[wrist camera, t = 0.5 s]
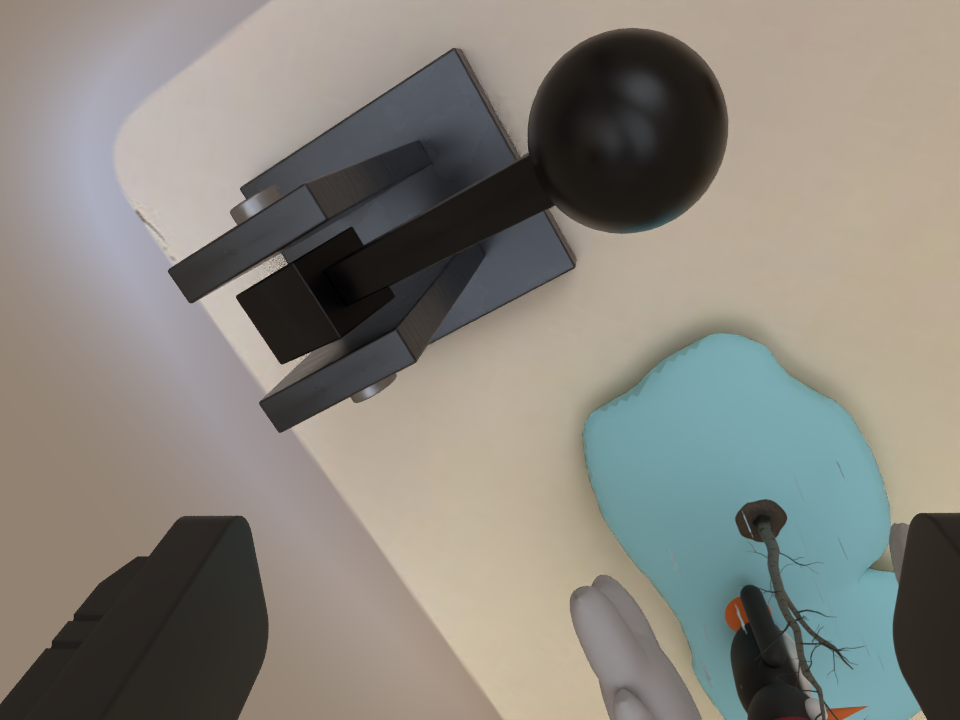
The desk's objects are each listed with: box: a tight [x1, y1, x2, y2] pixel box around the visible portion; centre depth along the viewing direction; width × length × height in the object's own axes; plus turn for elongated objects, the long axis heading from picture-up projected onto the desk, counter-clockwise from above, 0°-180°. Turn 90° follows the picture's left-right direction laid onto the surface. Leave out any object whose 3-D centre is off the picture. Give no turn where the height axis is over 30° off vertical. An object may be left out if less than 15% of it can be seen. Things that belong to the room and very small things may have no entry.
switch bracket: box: [168, 48, 577, 433], centre depth 25 cm, size 10×9×13 cm
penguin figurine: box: [570, 333, 922, 720], centre depth 27 cm, size 20×11×15 cm, turn 27°
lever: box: [236, 28, 728, 364], centre depth 18 cm, size 13×4×4 cm, turn 121°
